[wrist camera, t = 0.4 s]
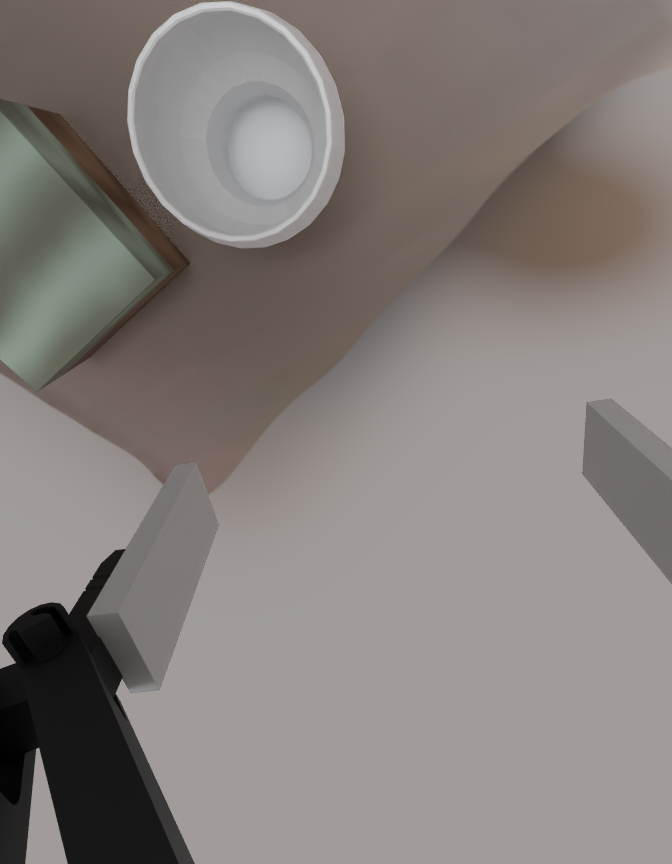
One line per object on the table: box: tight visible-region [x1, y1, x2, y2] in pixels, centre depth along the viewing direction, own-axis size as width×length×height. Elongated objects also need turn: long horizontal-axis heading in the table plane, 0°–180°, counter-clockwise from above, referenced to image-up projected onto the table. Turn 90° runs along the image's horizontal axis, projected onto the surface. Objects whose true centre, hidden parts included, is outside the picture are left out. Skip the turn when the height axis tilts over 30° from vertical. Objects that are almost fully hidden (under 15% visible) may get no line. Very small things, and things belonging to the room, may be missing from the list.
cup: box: [127, 1, 345, 248], centre depth 29 cm, size 11×11×15 cm
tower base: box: [0, 99, 190, 392], centre depth 36 cm, size 13×13×8 cm
